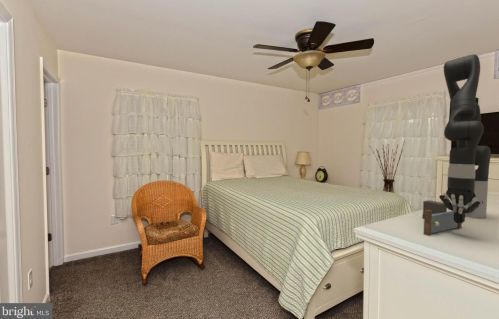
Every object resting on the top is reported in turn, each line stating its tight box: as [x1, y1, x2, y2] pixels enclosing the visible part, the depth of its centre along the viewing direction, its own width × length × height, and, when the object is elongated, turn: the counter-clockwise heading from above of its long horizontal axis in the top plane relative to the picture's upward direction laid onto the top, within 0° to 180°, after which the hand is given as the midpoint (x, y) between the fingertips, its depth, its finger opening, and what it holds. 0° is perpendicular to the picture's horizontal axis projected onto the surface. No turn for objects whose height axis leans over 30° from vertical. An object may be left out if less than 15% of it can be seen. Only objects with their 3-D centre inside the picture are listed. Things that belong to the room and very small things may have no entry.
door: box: [431, 210, 458, 234], centre depth 92 cm, size 18×3×6 cm, turn 113°
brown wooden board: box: [423, 210, 463, 236], centre depth 93 cm, size 21×2×9 cm, turn 113°
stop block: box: [422, 200, 448, 220], centre depth 107 cm, size 4×7×8 cm, turn 23°
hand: (458, 223), depth 89 cm, fingers closed
